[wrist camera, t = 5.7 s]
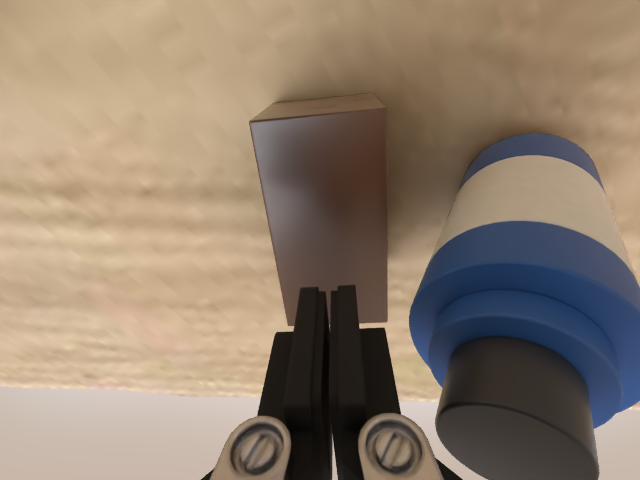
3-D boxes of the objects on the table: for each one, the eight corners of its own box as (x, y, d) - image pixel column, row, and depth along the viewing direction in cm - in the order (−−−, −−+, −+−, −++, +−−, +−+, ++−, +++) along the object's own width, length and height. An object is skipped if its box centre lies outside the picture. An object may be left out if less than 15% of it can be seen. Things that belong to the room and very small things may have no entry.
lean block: (374, 92, 16) (387, 107, 12) (377, 266, 21) (387, 323, 17) (272, 103, 17) (248, 120, 12) (298, 270, 21) (287, 326, 17)
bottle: (547, 117, 17) (1093, 259, 6) (521, 217, 20) (856, 425, 9) (317, 155, 15) (530, 441, 5) (327, 257, 18) (466, 572, 8)
